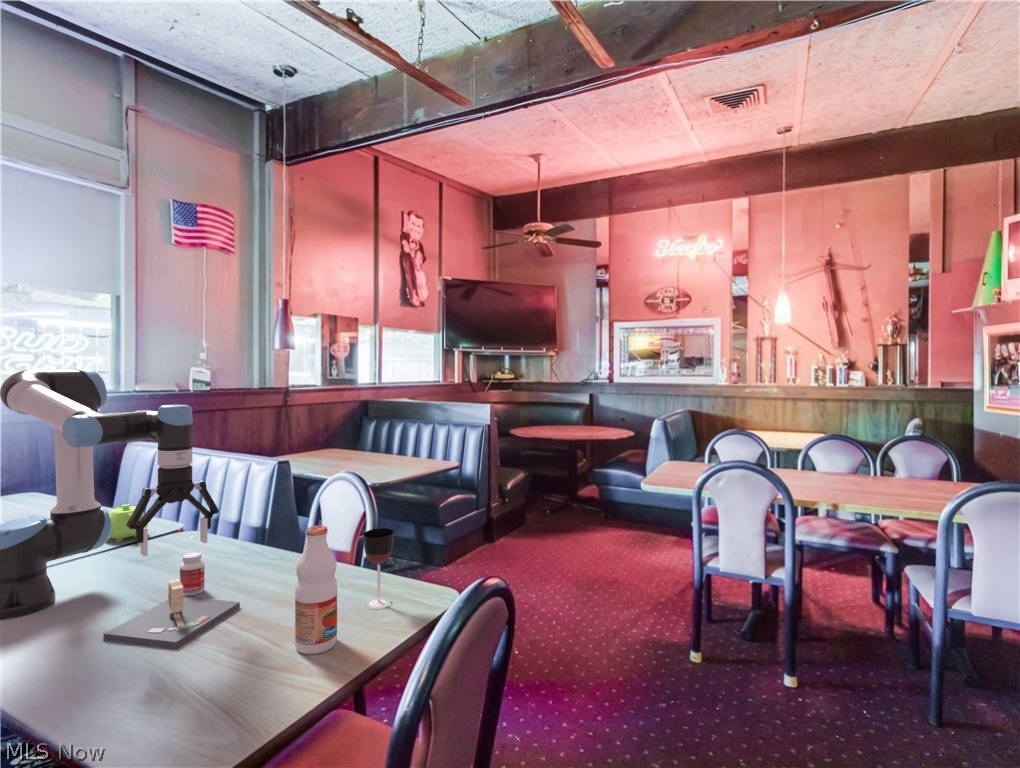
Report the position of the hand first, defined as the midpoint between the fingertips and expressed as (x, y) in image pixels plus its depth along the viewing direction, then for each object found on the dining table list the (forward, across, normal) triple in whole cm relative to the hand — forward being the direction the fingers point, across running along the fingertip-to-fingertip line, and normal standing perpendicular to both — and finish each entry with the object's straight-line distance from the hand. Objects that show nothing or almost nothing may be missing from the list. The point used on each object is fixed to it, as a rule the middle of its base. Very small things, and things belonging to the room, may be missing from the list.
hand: (175, 548), depth 137 cm
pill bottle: (+20, +10, +17) cm, 28 cm away
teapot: (+20, +12, +91) cm, 94 cm away
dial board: (+19, 0, 0) cm, 19 cm away
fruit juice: (+19, +18, -38) cm, 46 cm away
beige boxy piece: (+17, 0, -3) cm, 18 cm away
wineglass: (+19, +41, -30) cm, 54 cm away
